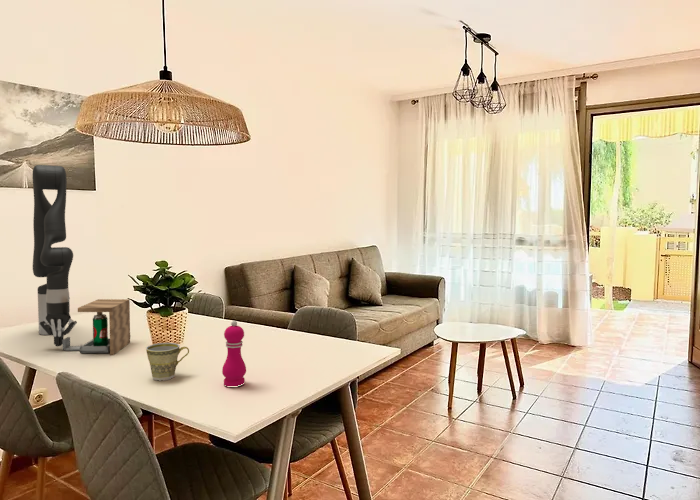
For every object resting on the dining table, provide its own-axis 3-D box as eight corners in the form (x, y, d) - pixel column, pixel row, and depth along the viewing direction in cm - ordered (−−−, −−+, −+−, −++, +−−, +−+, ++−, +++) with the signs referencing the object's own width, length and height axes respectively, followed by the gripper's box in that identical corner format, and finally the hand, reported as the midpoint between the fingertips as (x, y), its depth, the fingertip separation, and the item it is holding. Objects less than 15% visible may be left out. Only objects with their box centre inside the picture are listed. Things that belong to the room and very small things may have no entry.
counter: (99, 342, 202) (98, 299, 200) (130, 342, 203) (129, 299, 201) (78, 355, 184) (77, 308, 183) (112, 355, 185) (112, 308, 184)
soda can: (102, 348, 189) (101, 317, 188) (90, 347, 190) (89, 316, 189) (111, 345, 194) (110, 314, 193) (99, 344, 195) (98, 313, 194)
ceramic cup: (147, 384, 155) (146, 352, 154) (146, 374, 164) (145, 344, 163) (191, 379, 160) (190, 348, 160) (187, 370, 169) (187, 340, 169)
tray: (72, 344, 197) (72, 334, 197) (120, 344, 199) (120, 334, 198) (57, 353, 185) (57, 342, 185) (108, 352, 187) (107, 342, 186)
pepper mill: (224, 380, 159) (224, 318, 158) (247, 380, 160) (247, 318, 158) (220, 388, 152) (220, 323, 151) (244, 388, 153) (244, 323, 151)
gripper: (34, 302, 185) (35, 348, 187) (71, 302, 186) (72, 348, 188) (44, 298, 193) (45, 343, 194) (80, 298, 194) (81, 343, 195)
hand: (58, 345), depth 191 cm, fingers closed
